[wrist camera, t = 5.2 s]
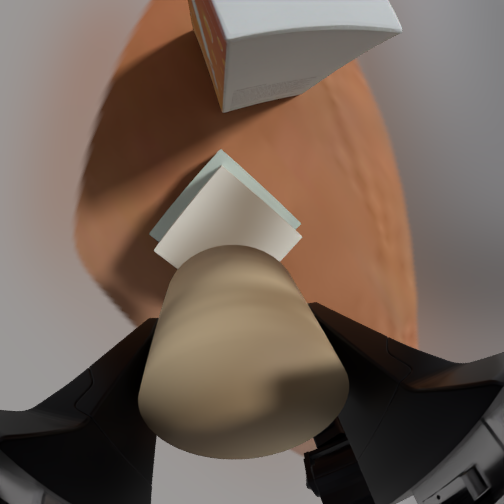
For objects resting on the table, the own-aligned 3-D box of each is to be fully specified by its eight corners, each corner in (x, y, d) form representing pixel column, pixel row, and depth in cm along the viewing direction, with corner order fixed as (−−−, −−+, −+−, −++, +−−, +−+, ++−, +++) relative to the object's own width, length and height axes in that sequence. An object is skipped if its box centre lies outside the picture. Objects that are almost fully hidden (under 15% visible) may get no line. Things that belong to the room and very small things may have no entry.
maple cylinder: (321, 297, 10) (382, 387, 6) (238, 372, 11) (252, 469, 7) (224, 214, 9) (233, 285, 4) (142, 314, 10) (107, 416, 5)
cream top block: (286, 221, 17) (302, 236, 14) (231, 282, 18) (234, 309, 15) (221, 164, 16) (221, 166, 12) (165, 232, 17) (153, 250, 13)
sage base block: (288, 213, 21) (301, 223, 18) (228, 276, 22) (229, 297, 19) (220, 150, 19) (220, 148, 15) (159, 221, 20) (148, 233, 17)
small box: (191, 29, 15) (169, -86, 3) (270, 13, 15) (322, -94, 3) (220, 116, 18) (224, 42, 5) (303, 96, 18) (410, 32, 5)
